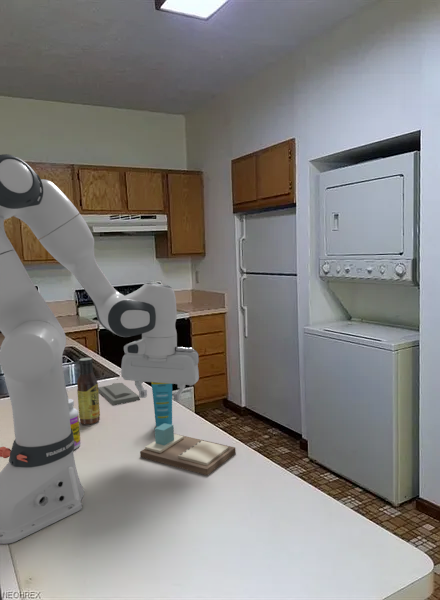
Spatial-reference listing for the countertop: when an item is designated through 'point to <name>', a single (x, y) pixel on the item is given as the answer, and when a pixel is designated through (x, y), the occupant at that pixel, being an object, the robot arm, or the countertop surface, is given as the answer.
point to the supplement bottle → (74, 423)
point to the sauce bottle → (88, 393)
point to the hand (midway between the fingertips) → (160, 398)
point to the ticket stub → (164, 438)
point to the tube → (162, 402)
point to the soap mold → (118, 393)
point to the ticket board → (192, 455)
